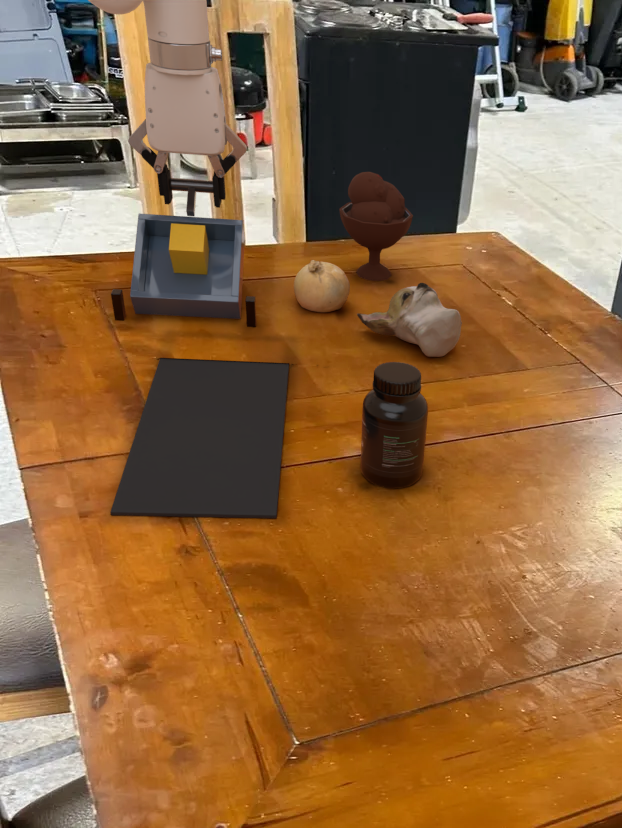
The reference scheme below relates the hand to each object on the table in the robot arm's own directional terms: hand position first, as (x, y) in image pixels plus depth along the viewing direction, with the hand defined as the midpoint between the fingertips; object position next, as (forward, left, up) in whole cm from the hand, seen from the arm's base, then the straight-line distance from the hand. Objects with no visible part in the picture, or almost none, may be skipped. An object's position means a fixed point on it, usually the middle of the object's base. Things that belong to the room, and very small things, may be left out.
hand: (193, 201), depth 125 cm
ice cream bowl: (+26, +6, -11) cm, 29 cm away
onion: (+18, -8, -11) cm, 23 cm away
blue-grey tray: (0, -6, -6) cm, 8 cm away
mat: (+6, -39, -11) cm, 41 cm away
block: (0, -7, -6) cm, 9 cm away
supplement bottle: (+26, -51, -11) cm, 58 cm away
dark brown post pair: (0, -16, -11) cm, 19 cm away
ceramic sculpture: (+31, -18, -11) cm, 38 cm away
